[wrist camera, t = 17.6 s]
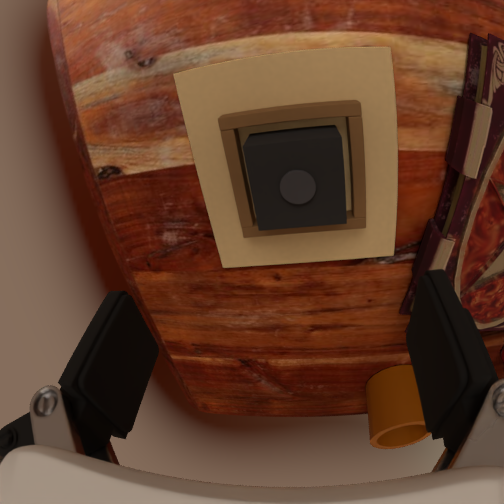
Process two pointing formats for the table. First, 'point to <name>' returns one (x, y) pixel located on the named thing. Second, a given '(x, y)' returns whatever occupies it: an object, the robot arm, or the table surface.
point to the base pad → (288, 117)
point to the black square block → (297, 177)
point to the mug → (394, 408)
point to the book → (472, 195)
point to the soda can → (502, 353)
